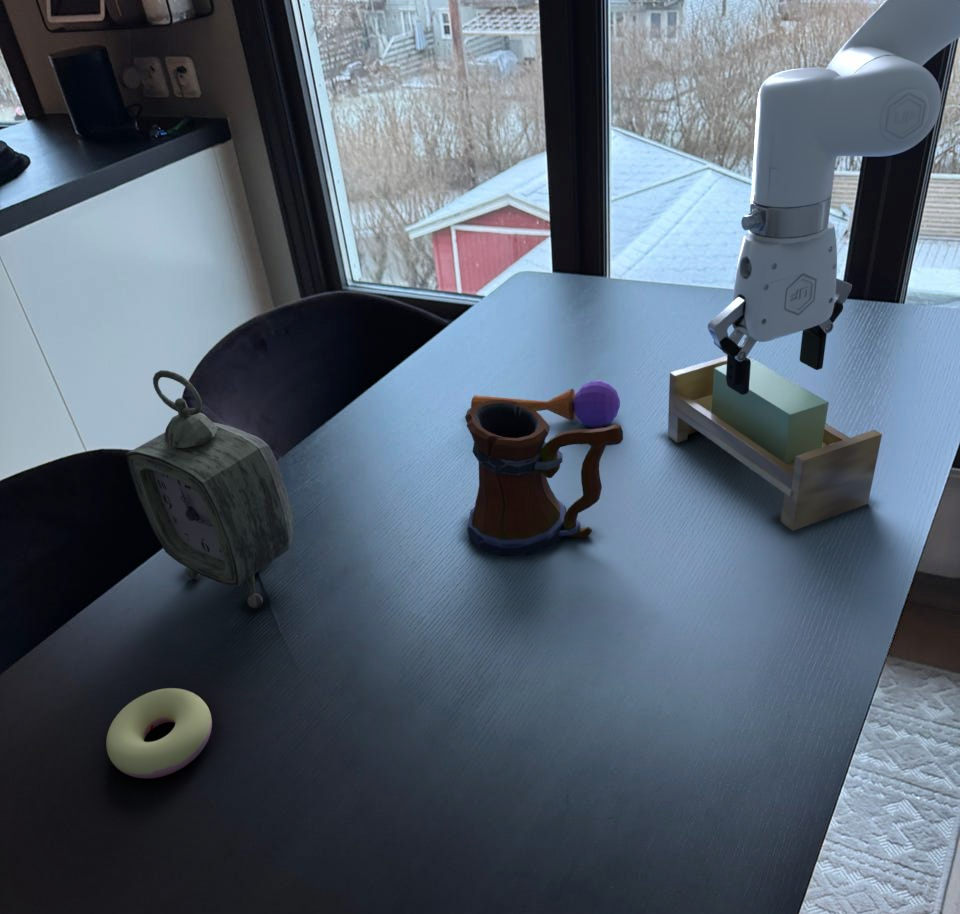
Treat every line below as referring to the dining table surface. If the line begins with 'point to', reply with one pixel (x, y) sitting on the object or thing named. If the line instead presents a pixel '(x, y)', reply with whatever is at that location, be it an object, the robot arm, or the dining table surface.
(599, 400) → the purple ball wooden maraca
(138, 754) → the donut
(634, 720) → the dining table surface
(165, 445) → the tabletop clock
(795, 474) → the rack
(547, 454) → the mug
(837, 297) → the robot arm
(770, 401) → the bar
